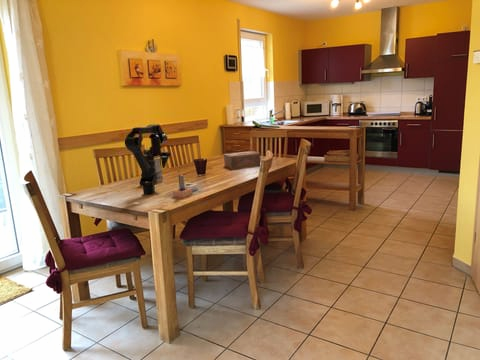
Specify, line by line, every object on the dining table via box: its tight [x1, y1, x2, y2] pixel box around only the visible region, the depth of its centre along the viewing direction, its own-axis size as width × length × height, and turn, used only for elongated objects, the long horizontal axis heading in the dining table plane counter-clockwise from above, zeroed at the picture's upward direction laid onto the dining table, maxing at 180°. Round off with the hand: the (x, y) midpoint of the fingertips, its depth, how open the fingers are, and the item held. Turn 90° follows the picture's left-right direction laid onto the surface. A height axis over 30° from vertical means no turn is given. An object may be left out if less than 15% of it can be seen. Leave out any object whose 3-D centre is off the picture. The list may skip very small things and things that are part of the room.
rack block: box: [172, 187, 193, 198], centre depth 223 cm, size 8×8×4 cm
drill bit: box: [177, 174, 185, 191], centre depth 222 cm, size 3×3×12 cm
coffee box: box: [148, 158, 164, 184], centre depth 267 cm, size 9×6×16 cm
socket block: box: [184, 182, 199, 192], centre depth 234 cm, size 8×8×4 cm
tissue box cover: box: [223, 150, 262, 169], centre depth 313 cm, size 26×14×10 cm, turn 113°
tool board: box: [162, 188, 207, 200], centre depth 229 cm, size 22×16×1 cm
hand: (158, 169), depth 242 cm, fingers open, 9 cm apart
